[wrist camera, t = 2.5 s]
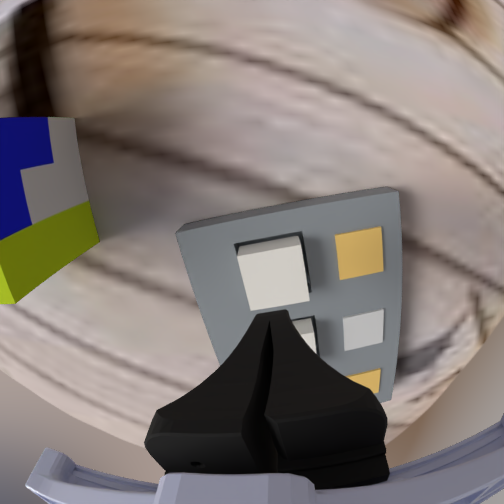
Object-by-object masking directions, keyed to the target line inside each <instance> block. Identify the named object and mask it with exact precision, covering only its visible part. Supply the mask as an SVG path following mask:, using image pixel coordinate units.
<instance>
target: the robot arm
mask: <svg viewBox="0 0 504 504" xmlns="http://www.w3.org/2000/svg"><path fill="white" fill-rule="evenodd" d="M386 429H387V416H386V414H385V411H384V409H383V407H382V406H381V404H380V402H379V401H378V399H377V397H376V396H375V395H374V393H373V392H372V390H371V389H370V388H367V387H365V386H363V385H361V384H359V383H356V382H354V381H352V380H351V379H349V378H347V377H346V376H344V375H342V374H341V373H339V372H338V371H337V370H335V369H334V368H332V367H331V366H330V365H328V364H327V363H326V362H325V361H324V360H323V359H321V358H320V357H319V356H318V355H317V354H316V353H315V352H314V351H313V350H312V349H311V348H310V346H309V345H308V344H307V343H306V342H305V340H304V339H303V338H302V337H301V335H300V334H299V332H298V331H297V329H296V328H295V326H294V324H293V322H292V320H291V318H290V316H289V311H288V310H286V309H283V310H277V311H271V312H265V313H259V314H256V315H255V317H254V319H253V321H252V322H251V324H250V326H249V328H248V329H247V331H246V333H245V334H244V336H243V337H242V339H241V340H240V342H239V343H238V345H237V346H236V348H235V349H234V350H233V351H232V353H231V354H230V355H229V357H228V358H227V359H226V360H225V361H224V363H223V364H222V365H221V366H220V367H219V368H218V369H217V370H216V371H215V372H214V373H213V374H211V375H210V376H209V377H208V378H207V379H206V380H204V381H203V382H202V383H201V384H200V385H198V386H197V387H196V388H194V389H193V390H191V391H190V392H188V393H187V394H185V395H184V396H182V397H181V398H179V399H177V400H175V401H174V402H172V403H170V404H168V405H166V406H164V407H162V408H160V409H158V410H157V411H156V413H155V415H154V417H153V419H152V422H151V425H150V428H149V430H148V433H147V436H146V439H145V441H144V444H145V448H146V449H147V450H148V452H149V453H150V455H151V456H152V457H153V458H154V459H155V460H156V461H157V462H158V463H159V465H161V467H162V468H163V469H164V470H166V472H165V475H164V476H163V477H161V478H160V481H159V484H155V483H149V482H144V481H138V480H133V479H128V478H124V477H119V476H115V475H111V474H107V473H103V472H100V471H96V470H93V469H89V468H86V467H83V466H80V465H76V464H75V462H74V461H73V460H72V459H71V458H69V457H68V456H67V455H65V454H64V453H62V452H59V451H57V450H54V449H51V448H48V447H46V448H45V449H44V451H43V453H42V455H41V457H40V458H39V460H38V462H37V464H36V465H35V467H34V469H33V471H32V473H31V475H30V477H29V478H28V480H27V482H26V487H27V488H28V489H30V490H31V491H32V492H33V493H35V494H36V495H37V496H39V497H40V498H42V499H43V500H44V501H46V502H47V503H49V504H480V503H482V502H483V501H485V500H487V499H488V498H490V497H491V496H493V495H495V494H496V493H498V492H499V491H501V490H502V489H504V414H503V416H502V418H501V421H499V422H498V423H496V424H494V425H492V426H490V427H489V428H487V429H485V430H483V431H481V432H479V433H477V434H476V435H473V436H472V437H469V438H467V439H465V440H463V441H461V442H459V443H457V444H455V445H452V446H450V447H448V448H445V449H443V450H441V451H438V452H436V453H433V454H431V455H428V456H425V457H423V458H420V459H417V460H415V461H412V462H409V463H406V464H403V465H400V466H396V467H393V468H390V469H389V467H388V463H387V460H386V456H385V453H386V448H385V444H384V437H385V433H386Z"/></svg>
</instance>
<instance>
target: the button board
mask: <svg viewBox="0 0 504 504" xmlns="http://www.w3.org/2000/svg"><path fill="white" fill-rule="evenodd" d="M175 234H176V237H177V241H178V244H179V247H180V251H181V254H182V257H183V260H184V263H185V267H186V270H187V273H188V276H189V279H190V282H191V285H192V288H193V291H194V294H195V297H196V300H197V303H198V306H199V309H200V312H201V315H202V318H203V321H204V323H205V326H206V329H207V332H208V334H209V337H210V340H211V343H212V345H213V348H214V351H215V353H216V356H217V359H218V361H219V364H220V366H221V365H222V364H223V363H224V361H225V360H226V359H227V358H228V357H229V355H230V354H231V353H232V351H233V350H234V349H235V348H236V346H237V345H238V343H239V342H240V340H241V339H242V337H243V336H244V334H245V333H246V331H247V329H248V328H249V326H250V324H251V322H252V321H253V319H254V317H255V315H256V314H259V313H265V312H271V311H277V310H283V309H286V310H288V311H289V316H290V318H291V320H292V321H297V320H302V319H308V318H311V321H312V326H313V330H314V337H315V345H316V353H317V355H318V356H319V357H320V358H321V359H323V360H324V361H325V362H326V363H327V364H328V365H330V366H331V367H332V368H334V369H335V370H337V371H338V372H339V373H341V374H342V375H344V376H346V377H347V378H349V379H351V380H352V381H354V382H356V383H359V384H361V385H363V386H365V387H367V388H370V389H371V390H372V392H373V393H374V395H375V396H376V397H377V399H378V401H379V402H380V403H382V402H385V401H389V400H391V398H392V392H393V385H394V379H395V372H396V364H397V355H398V346H399V335H400V322H401V304H402V233H401V215H400V202H399V191H396V190H394V189H391V188H389V187H380V188H374V189H367V190H361V191H355V192H348V193H342V194H336V195H330V196H325V197H319V198H313V199H307V200H302V201H296V202H291V203H286V204H280V205H275V206H270V207H265V208H260V209H254V210H249V211H245V212H240V213H235V214H230V215H225V216H220V217H216V218H211V219H206V220H202V221H197V222H193V223H188V224H184V225H183V226H182V227H181V228H180V229H179V230H178V231H177V232H176V233H175ZM292 236H298V237H299V240H300V243H301V248H302V254H303V260H304V267H305V273H306V280H307V286H308V293H309V300H310V301H306V302H301V303H295V304H289V305H284V306H278V307H272V308H266V309H259V310H253V311H251V310H250V306H249V302H248V299H247V295H246V291H245V287H244V283H243V279H242V275H241V271H240V267H239V263H238V259H237V254H238V251H239V247H240V246H244V245H250V244H255V243H260V242H266V241H271V240H276V239H282V238H287V237H292Z"/></svg>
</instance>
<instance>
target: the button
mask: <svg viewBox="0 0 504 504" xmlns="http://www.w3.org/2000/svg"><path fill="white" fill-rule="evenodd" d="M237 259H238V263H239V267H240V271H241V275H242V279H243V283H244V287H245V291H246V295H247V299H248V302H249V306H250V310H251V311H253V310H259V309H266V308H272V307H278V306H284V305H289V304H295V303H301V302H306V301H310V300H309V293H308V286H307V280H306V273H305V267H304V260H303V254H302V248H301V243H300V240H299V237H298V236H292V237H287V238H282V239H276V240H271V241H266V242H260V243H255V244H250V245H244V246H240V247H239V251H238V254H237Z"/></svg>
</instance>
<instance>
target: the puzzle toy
mask: <svg viewBox="0 0 504 504" xmlns="http://www.w3.org/2000/svg"><path fill="white" fill-rule="evenodd" d="M99 242H100V241H99V237H98V234H97V230H96V226H95V223H94V219H93V215H92V211H91V207H90V203H89V198H88V194H87V190H86V185H85V180H84V175H83V170H82V165H81V159H80V154H79V148H78V141H77V134H76V127H75V119H74V118H62V117H8V118H0V304H16V303H17V302H18V301H19V300H21V299H22V298H23V297H24V296H26V295H27V294H28V293H29V292H31V291H32V290H33V289H35V288H36V287H37V286H38V285H40V284H41V283H42V282H44V281H45V280H46V279H48V278H49V277H50V276H52V275H53V274H55V273H56V272H57V271H59V270H60V269H61V268H63V267H64V266H66V265H67V264H68V263H70V262H71V261H73V260H74V259H75V258H77V257H78V256H80V255H81V254H83V253H84V252H86V251H87V250H88V249H90V248H91V247H93V246H94V245H96V244H97V243H99Z"/></svg>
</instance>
